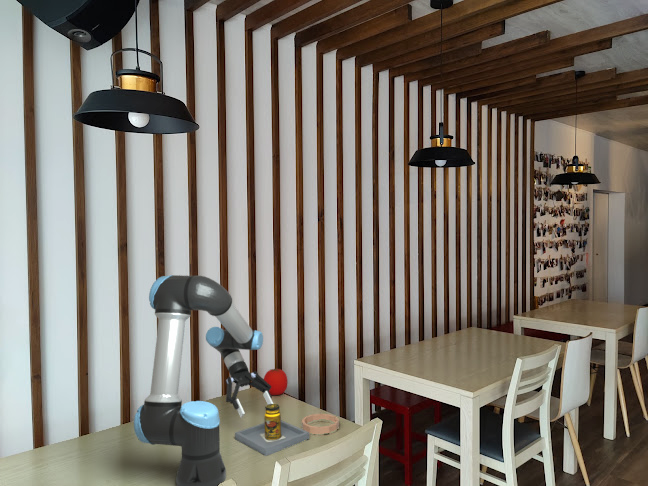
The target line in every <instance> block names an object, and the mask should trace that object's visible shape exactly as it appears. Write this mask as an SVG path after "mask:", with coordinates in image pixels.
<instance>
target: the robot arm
mask: <svg viewBox="0 0 648 486" xmlns="http://www.w3.org/2000/svg"><path fill="white" fill-rule="evenodd" d="M148 300H149V305H150V307H151V308H152V309H153V310H154V315H155V317H156V318H158V325H157V332H156V339H155V340H156V342H155V350H154V360H153V367H152V374H151V376H152V378H151V385H150V393H149V395H148V396H147V397H145V399H144V403H143V404H141V405H140V406H138V409H137V410H136V413H135V414H134V419H133V430H134V434H135V435H136V437H137V439H138V440H139V441H140V442H141V443H144V444H150V445H153V446H154V445H160V446H161V445H163V446H172V447H173V446H174V447H175V446H176V447H180V448H181V458H180V462H179V466H178V469H177V473H176V478H175V481H176V486H217V485H218V484H220V483H221V482H222V483H224V481H225V480H226V478H227V472H226V471H227V470H226V465H225V463H224V460H223V458H222V454H221V451H220V450H221V449H220V445H221V444H220V441H221V440H220V436H221V435H220V423H221V421H220V414H219V413H220V412H219V409H218V407H217V406H216V405H215V404H213V403H211V402H208V401H202V400H196V401H193V400H192V401H187V402H184V403H183V399H182V398H181V397H180V395H179V388H180V387H179V386H180V378H181V376H180V375H181V366H182V355H183V349H184V347H183V346H184V340H185V338H184V336H185V328H186V322H187V320H188V319H189V318H190V317H191V314H192V313H191V312H192V311H204V312H207V313H208V314H209V315H210V316H212V317H215V318H216V320H218V321H219V323H220V324H221V325H222V326H223V328H225V329H223V328H221V327H219V326H211V328H209V329H208V330H207V332H206V334H205V341H206V342H207V343H208V346H209V345H210V347H212V348H213V349H215V350H217V352H219V353H220V356H221V358H222V359H223V362H224V364H225V366H226V368H227V370H228V374H229V375H230V376H228V377H227V379H226V380H225V384H226V397H225V402H226V403H230V404H231V405H233V408H234V409H235V410H237V413H238V415H239V417H240V418H243V417H244V415H245V413H246V412H245V411H244V408H243V406H242V404H241V402H240V400H239V398H237V396H238V392H239V390H240V387H241V388H243V387H247V386H250V387H251V386H252V387H253V388H255V389H256V390H258V391H260V392H261V393H263V394H262V396H263V398H264V399H265V401H266V403H267V405H269V404H274V402H273V400H272V395H270V392H269V390H270V389H271V386H270V385H269V384H268V383H267V382H266V381H265V380H264V377H261V376H260V375H259V373H258V372H257V371H256V370H254V371H253V372H250V371H249V367H248V365H247V364H246V362H245V359H244V357H243V355H242V353H241V350H243V351H244V350H247V351H252V350H253V351H255V350H257V351H258V350H260V349H261V348H262V347H263V345H264V343H263V342H264V335H263V333H262V331H261V330H256V329H255V330H253V329H252V327H251V326H250V325H249V323H248V322H247V321H246V319H245V318H244V317H243V316H242V314H241V312H240V311H239V310H238V309H237V308H236V306H235V304H234V303H233V298H232V296H231V294H230V293H229V291H228V290H227V289H226V288H225V287H224V286H223V285H221V284H220V283H219V282H217V281H216V280H214V279H212V278H210V277H207V276H204V275H181V274H179V275H176V274H175V275H172V274H171V275H165V276H164V275H162V276H160V277H158V278H156V280H155V281H154V282H153V283H152V285H151V288H150V289H149V294H148ZM233 383H234V384H235V386H234V390H233V392H232V389H233ZM182 403H183V404H182ZM222 483H221V484H222ZM221 484H220V485H221ZM218 486H219V485H218Z"/></svg>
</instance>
